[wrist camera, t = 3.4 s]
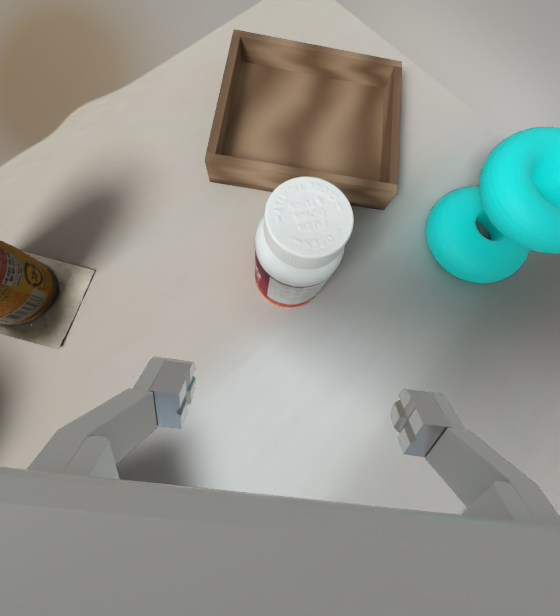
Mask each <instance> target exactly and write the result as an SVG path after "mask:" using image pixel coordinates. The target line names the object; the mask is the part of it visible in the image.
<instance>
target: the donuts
mask: <svg viewBox="0 0 560 616" xmlns="http://www.w3.org/2000/svg"><path fill="white" fill-rule="evenodd" d="M476 221H477V222H479V223H480V224H482V225H483V226H484V227H485V228H486V230H487V231H488V233H489V235H490V237H491V240H489V239H486V238H485V237H484V236H482V235H481V234H480V232H479V231H478V230H477V227H476ZM426 237H427V242H428V245H429V248H430V250H431V252H432V254H433V256H434V258H435V259H436V260H437V262H438V263H439V264H440V265H441V266H442V267H443V268H444V269H445V270H446V271H448V272H449V273H450V274H452V275H454V276H456V277H457V278H460V279H462V280H465V281H469V282H473V283H492V282H497V281H500V280H503V279H505V278H507V277H509V276H511V275H512V274H514V273H515V272H516V271H517V270H518V269H519V268H520V267H521V266H522V265H523V263H524V262H525V261H526V259H527V257H528V254H529V251H530V250H533V251H537V252H542V253H551V254H560V128H554V127H536V128H530V129H527V130H524V131H520V132H518V133H515V134H513V135H512V136H510V137H508V138H506V139H505V140H503V141H502V142H501V143H500V144H499V145H498V146H496V147H495V148H494V149H493V151H492V152H491V153H490V155H489V156H488V158H487V159H486V161H485V163H484V165H483V168H482V170H481V174H480V180H479V187H464V188H460V189H457V190H454V191H452V192H450V193H448V194H447V195H445V196H444V197H442V198H441V199H440V200H439V201H438V202H437V203H436V204H435V206H434V207H433V209H432V210H431V212H430V214H429V217H428V220H427V225H426Z"/></svg>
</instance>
